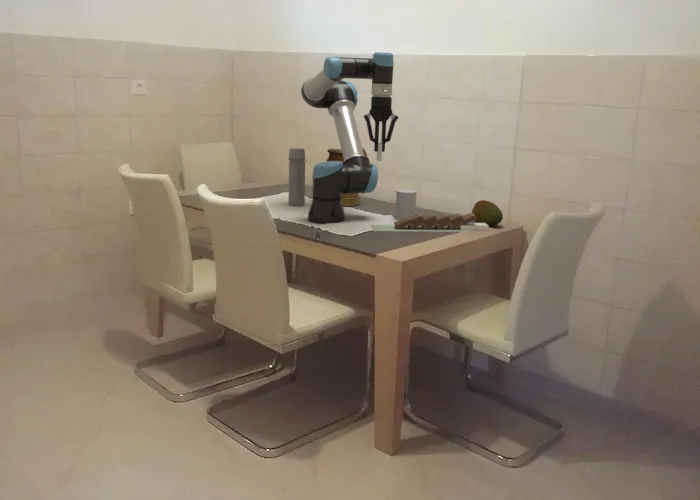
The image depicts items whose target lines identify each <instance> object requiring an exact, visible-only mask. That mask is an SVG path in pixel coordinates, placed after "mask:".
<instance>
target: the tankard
mask: <svg viewBox="0 0 700 500" xmlns="http://www.w3.org/2000/svg"><path fill="white" fill-rule="evenodd" d="M362 149H363V153H364V156H367V157H368V154H367V151H366V149H365V147H362ZM327 153H328V154H329V155H328V158H326V162H328V161H340V162H342V163H343V161H344V158H343V154H342V150H341V148H328V149H327ZM360 196H361V195H360V194H359V193H353V194H342V196H341V202H342V206H343V207H353V206H354V207H355V206H358V205H360V204H361V200H360Z"/></svg>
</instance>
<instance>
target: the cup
mask: <svg viewBox="0 0 700 500" xmlns="http://www.w3.org/2000/svg"><path fill="white" fill-rule="evenodd" d="M417 192H418V191H417V190H414V189H403V188H402V189H397V190H396V194H395V195H396V197H395V198H396V199H395V213H394V214H395V217H394V219H395V220H396V221H399V220H402V219H405V218H407V217H410V216H413V215H416V208H417V207H416V206H417Z"/></svg>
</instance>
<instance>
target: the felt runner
mask: <svg viewBox="0 0 700 500" xmlns="http://www.w3.org/2000/svg"><path fill="white" fill-rule="evenodd" d="M369 226H370V229H372V231H373V232H437V233H438V232H441V233H442V232H443V233H444V232H449V233H450V232H454V233H458V232H459V233H462V232H463V233H464V232H468V233H469V232H472V230H460V229H459V228H458V227H456V228H453V229H449V228H448V227H447V226H446V227H443V228H441V229H438V230H437V229H436V228H435V227H434V226H433V227H430V228H427V229H423V228H422V227H421V226H419V227H416V228H413V229H411V230H410V229H409V228H408V226H406V227H403V228H400V229H397V228H396V227H395V225H394V224H369Z"/></svg>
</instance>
